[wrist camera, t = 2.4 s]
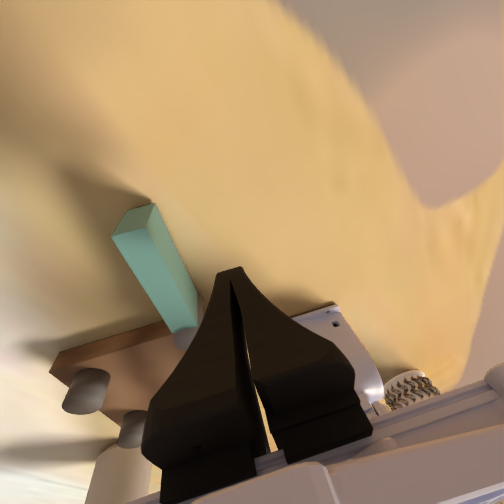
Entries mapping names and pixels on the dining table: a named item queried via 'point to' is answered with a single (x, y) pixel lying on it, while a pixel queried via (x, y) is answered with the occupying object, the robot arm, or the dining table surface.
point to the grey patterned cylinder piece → (410, 392)
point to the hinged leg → (160, 271)
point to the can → (119, 476)
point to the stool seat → (119, 377)
